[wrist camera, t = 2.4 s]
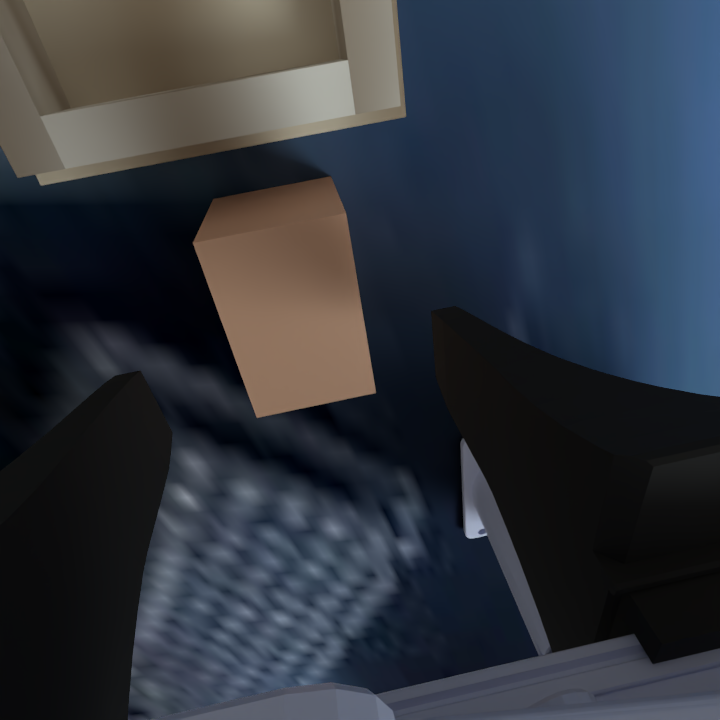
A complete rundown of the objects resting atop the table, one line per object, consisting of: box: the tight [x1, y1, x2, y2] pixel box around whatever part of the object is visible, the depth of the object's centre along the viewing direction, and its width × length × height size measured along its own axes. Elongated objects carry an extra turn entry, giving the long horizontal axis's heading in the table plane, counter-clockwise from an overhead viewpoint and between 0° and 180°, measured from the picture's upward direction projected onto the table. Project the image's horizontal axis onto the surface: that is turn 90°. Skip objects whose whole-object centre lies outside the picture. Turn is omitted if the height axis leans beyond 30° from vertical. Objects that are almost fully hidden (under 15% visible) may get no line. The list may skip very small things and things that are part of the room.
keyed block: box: [193, 176, 376, 418], centre depth 16 cm, size 4×6×4 cm, turn 8°
